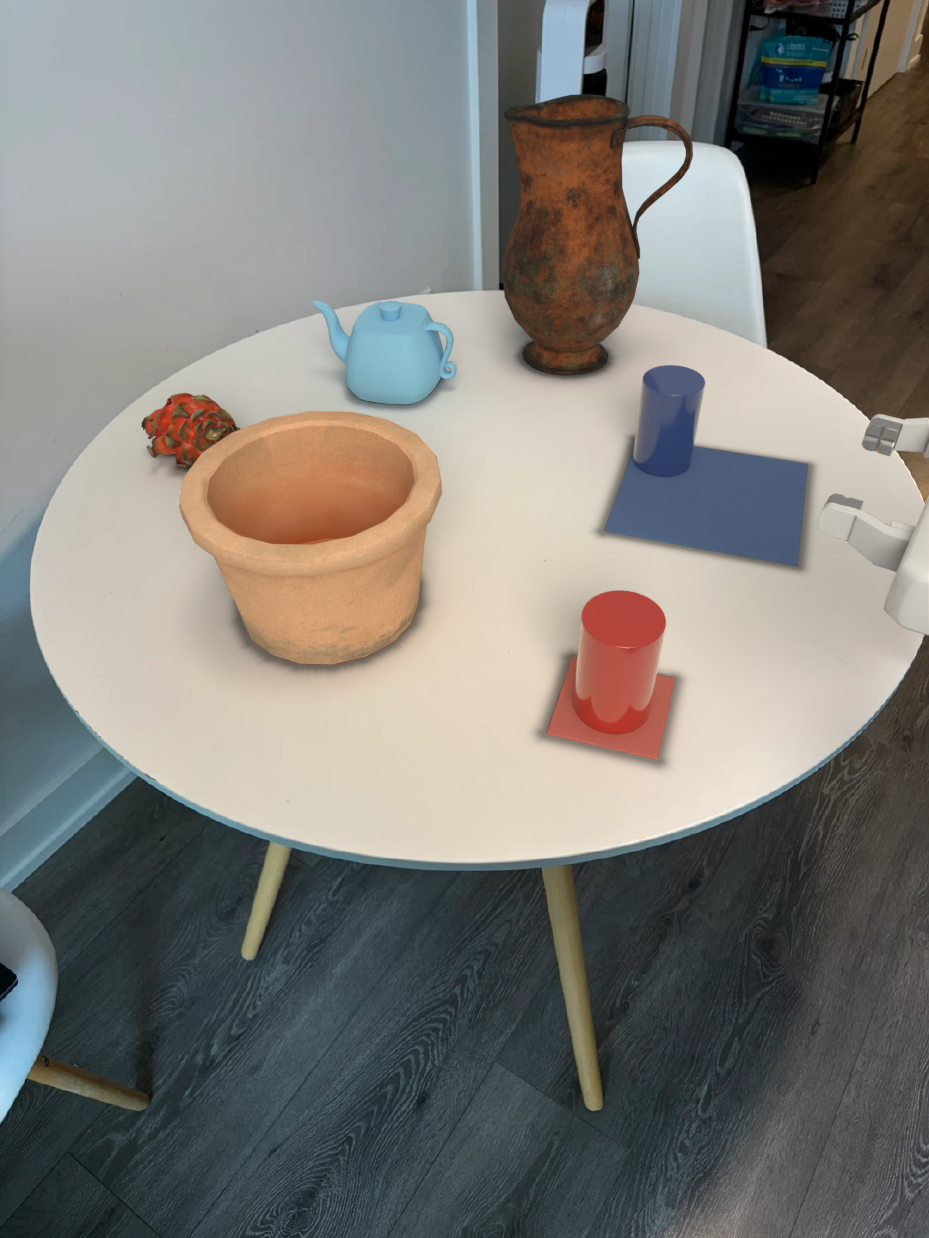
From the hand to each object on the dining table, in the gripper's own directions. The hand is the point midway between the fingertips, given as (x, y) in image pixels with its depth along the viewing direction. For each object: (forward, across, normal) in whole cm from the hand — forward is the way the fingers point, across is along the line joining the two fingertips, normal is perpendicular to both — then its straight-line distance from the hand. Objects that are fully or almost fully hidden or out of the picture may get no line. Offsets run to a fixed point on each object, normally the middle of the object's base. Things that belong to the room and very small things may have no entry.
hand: (845, 468), depth 53 cm
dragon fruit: (+69, +10, -28) cm, 75 cm away
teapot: (+59, +35, -28) cm, 74 cm away
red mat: (+12, 0, -28) cm, 30 cm away
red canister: (+12, 0, -28) cm, 30 cm away
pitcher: (+41, +53, -28) cm, 72 cm away
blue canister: (+22, +36, -28) cm, 50 cm away
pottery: (+40, -2, -28) cm, 49 cm away
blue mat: (+15, +32, -28) cm, 45 cm away
